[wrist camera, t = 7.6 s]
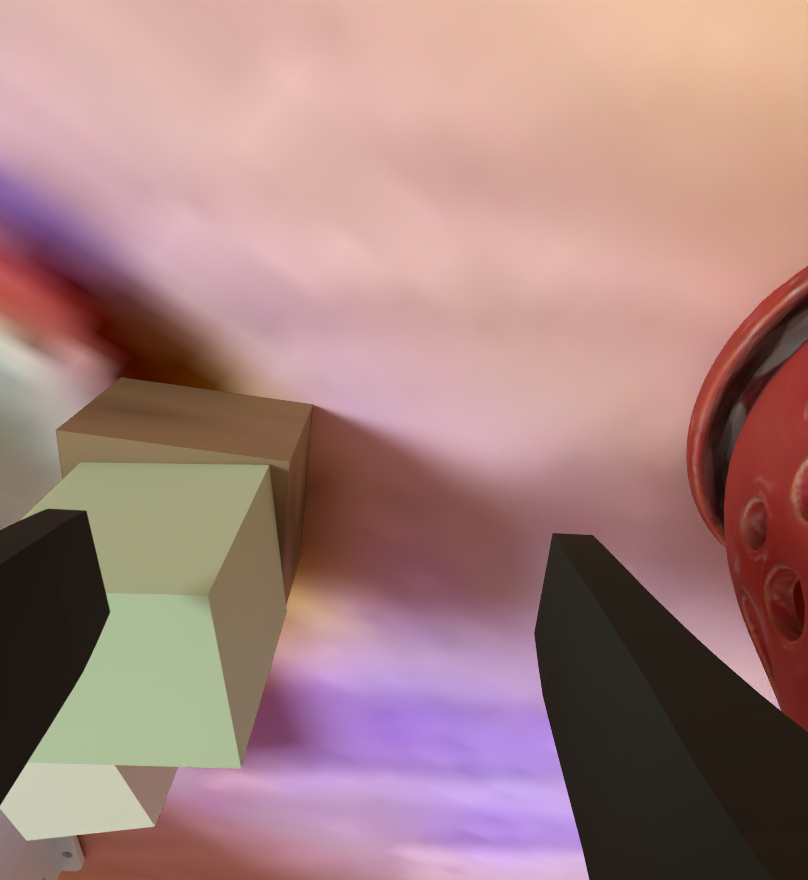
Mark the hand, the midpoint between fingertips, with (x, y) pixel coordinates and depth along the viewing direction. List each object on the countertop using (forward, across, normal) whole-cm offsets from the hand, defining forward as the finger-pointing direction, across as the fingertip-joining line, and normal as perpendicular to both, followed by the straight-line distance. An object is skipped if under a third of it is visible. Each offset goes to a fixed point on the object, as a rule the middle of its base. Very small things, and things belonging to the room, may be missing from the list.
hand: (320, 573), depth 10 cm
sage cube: (+6, +5, +4) cm, 9 cm away
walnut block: (+10, +5, +4) cm, 12 cm away
